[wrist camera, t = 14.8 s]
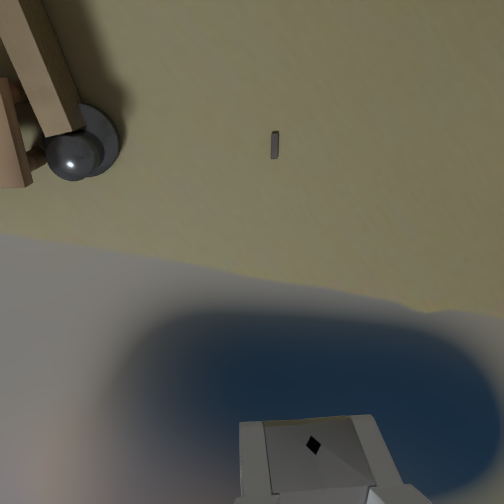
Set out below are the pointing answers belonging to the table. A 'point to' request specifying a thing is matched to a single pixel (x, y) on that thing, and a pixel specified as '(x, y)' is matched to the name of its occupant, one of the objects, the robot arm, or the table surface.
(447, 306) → the table surface
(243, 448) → the robot arm
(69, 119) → the cam lever
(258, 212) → the table surface
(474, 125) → the table surface
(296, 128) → the table surface
